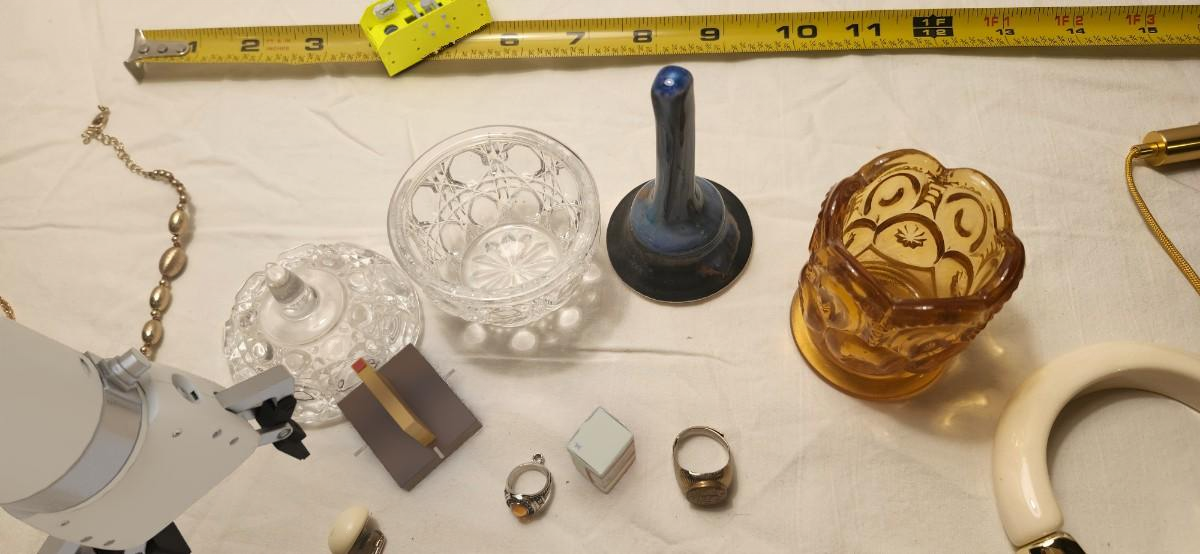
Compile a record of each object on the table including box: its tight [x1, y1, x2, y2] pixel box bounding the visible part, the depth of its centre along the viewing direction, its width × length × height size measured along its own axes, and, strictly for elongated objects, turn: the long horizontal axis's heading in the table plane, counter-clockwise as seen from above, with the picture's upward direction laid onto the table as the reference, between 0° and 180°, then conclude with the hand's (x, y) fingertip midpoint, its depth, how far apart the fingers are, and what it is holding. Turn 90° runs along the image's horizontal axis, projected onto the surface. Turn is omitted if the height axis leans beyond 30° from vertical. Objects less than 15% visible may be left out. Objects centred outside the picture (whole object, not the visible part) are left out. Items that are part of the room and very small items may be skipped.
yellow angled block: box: [350, 356, 436, 447], centre depth 74 cm, size 9×1×7 cm, turn 43°
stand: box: [336, 342, 483, 493], centre depth 79 cm, size 13×13×3 cm
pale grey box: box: [565, 405, 637, 495], centre depth 72 cm, size 5×4×10 cm
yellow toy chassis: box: [358, 0, 493, 77], centre depth 99 cm, size 16×6×8 cm, turn 123°
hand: (238, 490), depth 52 cm, fingers open, 9 cm apart
